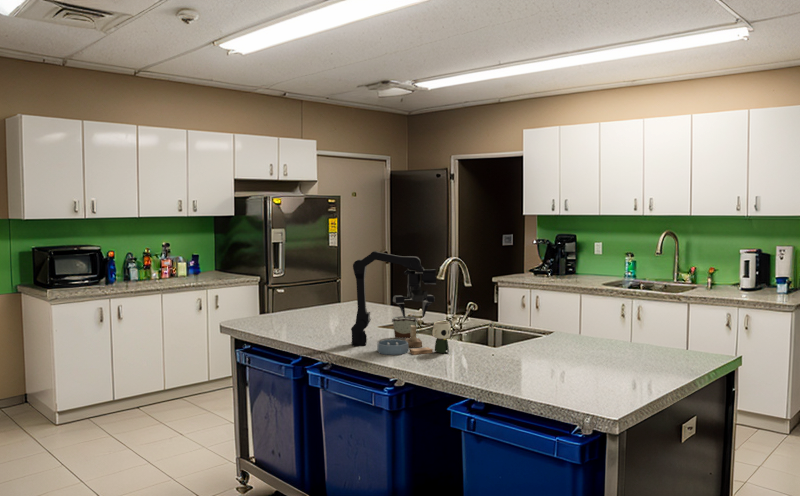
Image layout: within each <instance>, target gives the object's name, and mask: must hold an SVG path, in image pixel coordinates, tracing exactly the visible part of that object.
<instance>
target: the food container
mask: <svg viewBox="0 0 800 496" xmlns="http://www.w3.org/2000/svg"><path fill="white" fill-rule="evenodd" d="M417 320H418V319H417V317H415V316H410V315H405V318H404V317H403V315H401V316H394V317H392V320H391V323H393V324H392V325H393V331H394V332H393V333H394V339H410V337H411V328H410V325H415V326H416V323H418V321H417Z"/></svg>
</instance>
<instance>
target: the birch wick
mask: <svg viewBox="0 0 800 496" xmlns="http://www.w3.org/2000/svg"><path fill="white" fill-rule="evenodd" d="M410 328H411V341H412V342H414V341H416V338H417V326H416V324H415V325H410Z"/></svg>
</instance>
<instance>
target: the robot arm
mask: <svg viewBox="0 0 800 496" xmlns="http://www.w3.org/2000/svg"><path fill="white" fill-rule="evenodd" d="M375 261H379V262H386V263H391V264H397V265H401V266H403V267H405V268H406V270H405V271H404V273H403V274H404V275H407V294H406V295H407V296H403V295H393V297H392V302H393V303H395V304H396V305H398V307H399V309H400V313H401V314H402V315H401V316H403V317H404V318H405V316H406V310H405V309H406V308H405V303H404V302H414V303H416V302H421V303H422V308H421V309H422V310H421V313H422V318H425V315H426V312H427V309H428V308H429V306H430V305H432V304H433V303H435V301H436V300H435V299H436V297H435V296H434V295H432V294H428V290H422V286H421V282H422V283H423V284H424V285H437V271H436V270H437V269H435V268H434V269H425V268H424V266H422V264H421V259H420V258H419V256H413V255H412V256H411V255H409V256H408V255H407V256H402V255H395V254H391V253H385V252H379V251H377V250H373V251H371V253H369V254H368V255H366V256H365V257H364V258H362V259H361V258H359V259H357V260H355V261H354V262H353V264H352V269H353V274H354V276H355V279H356V280H355V281H356V301H357V303H356V304H357V312H356V318H355V323H354V324H353V325H352V327H351V328H350V330H351V342H350V344H351V346H352V347H353V346H354V347H357V346H358V347H359V346H360V347H362V346H363V347H364V346H366V345H367V343H368V341H367V339H368V337H367V336H368V335H367V334H366V330H365V329H366V328H367V327H368V326H369V324H370V322H371V311H368V310H367V300H366V296H367V295H366V273H367V266H369V265H370V264H371V263H373V262H375Z"/></svg>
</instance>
